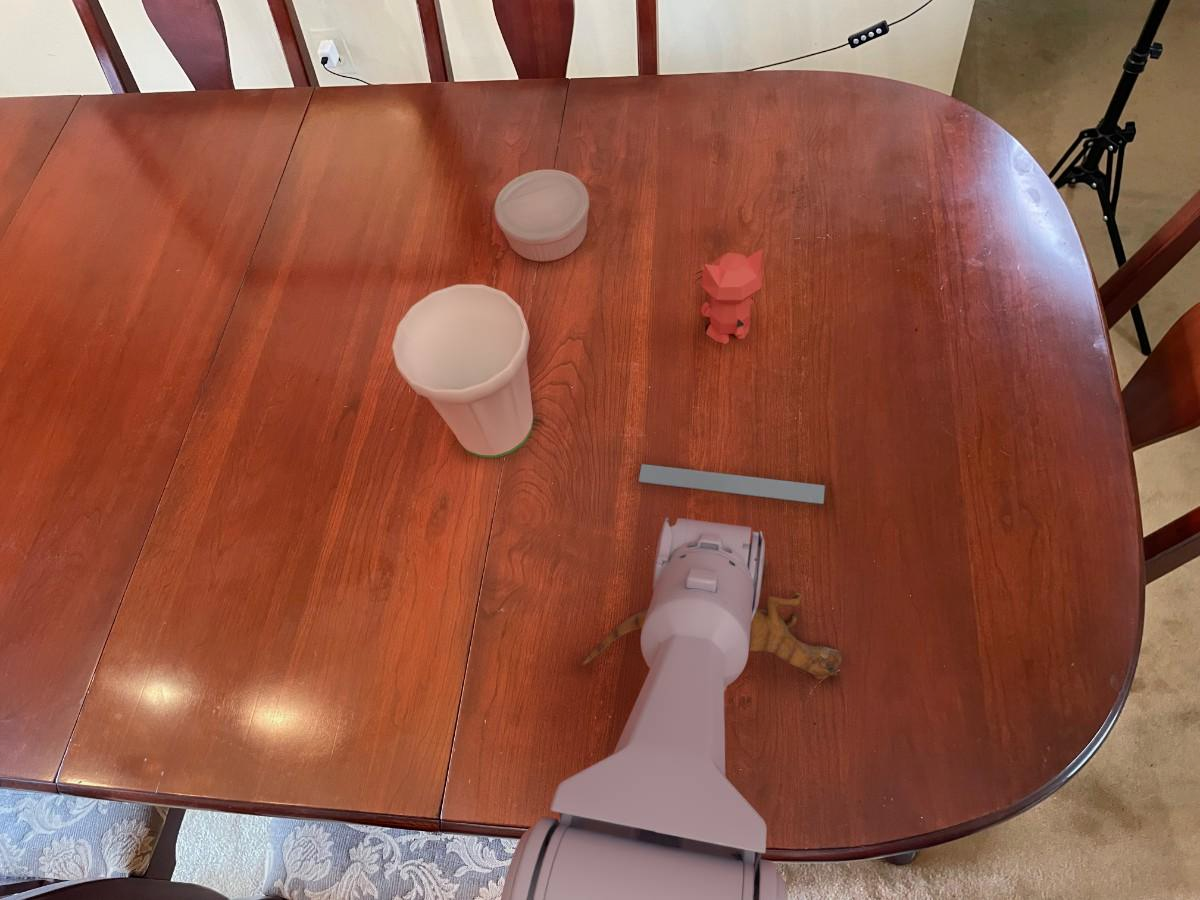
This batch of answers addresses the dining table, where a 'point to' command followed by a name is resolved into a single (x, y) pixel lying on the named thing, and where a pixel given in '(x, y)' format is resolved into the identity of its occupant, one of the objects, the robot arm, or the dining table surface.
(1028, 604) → the dining table surface
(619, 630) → the dinosaur figurine
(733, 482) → the tape line
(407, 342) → the cup
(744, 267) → the cat figurine
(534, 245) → the ramekin
